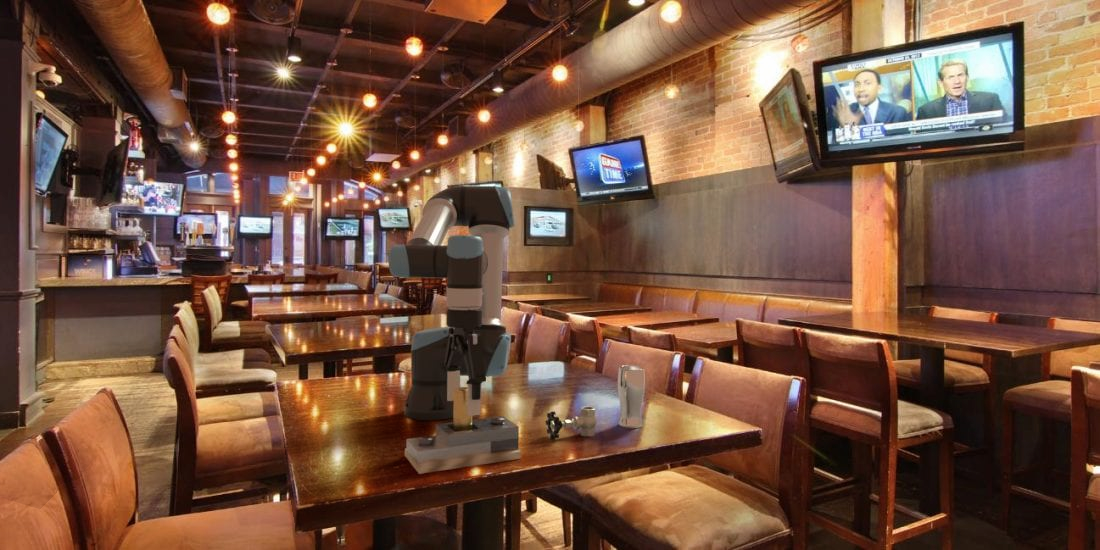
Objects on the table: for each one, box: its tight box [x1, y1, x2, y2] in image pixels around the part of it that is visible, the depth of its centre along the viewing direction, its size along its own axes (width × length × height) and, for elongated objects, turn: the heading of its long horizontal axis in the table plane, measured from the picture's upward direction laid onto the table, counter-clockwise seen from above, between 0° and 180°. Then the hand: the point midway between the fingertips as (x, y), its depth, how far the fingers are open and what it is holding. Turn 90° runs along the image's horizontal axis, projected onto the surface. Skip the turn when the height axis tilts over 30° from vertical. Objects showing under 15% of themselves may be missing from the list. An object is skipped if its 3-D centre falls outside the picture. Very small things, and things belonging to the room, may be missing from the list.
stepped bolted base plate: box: [405, 415, 520, 464], centre depth 127 cm, size 22×9×6 cm, turn 117°
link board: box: [404, 448, 522, 475], centre depth 127 cm, size 22×12×2 cm, turn 117°
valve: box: [545, 405, 597, 440], centre depth 144 cm, size 7×7×12 cm
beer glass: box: [617, 364, 646, 429], centre depth 154 cm, size 7×7×15 cm
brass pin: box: [452, 386, 473, 432], centre depth 128 cm, size 4×4×13 cm
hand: (463, 407), depth 127 cm, fingers open, 13 cm apart
